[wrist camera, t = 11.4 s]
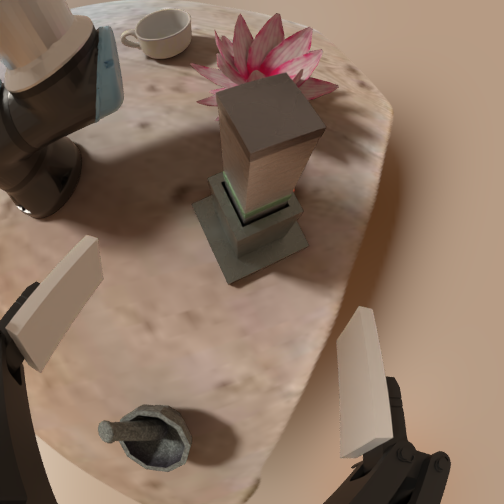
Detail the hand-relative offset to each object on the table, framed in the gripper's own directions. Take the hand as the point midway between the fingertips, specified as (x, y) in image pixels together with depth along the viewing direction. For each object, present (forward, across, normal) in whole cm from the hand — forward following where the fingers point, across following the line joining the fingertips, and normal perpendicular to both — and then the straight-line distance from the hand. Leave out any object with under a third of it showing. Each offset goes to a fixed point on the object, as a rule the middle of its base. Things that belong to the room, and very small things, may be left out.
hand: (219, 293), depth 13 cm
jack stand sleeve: (+25, 0, -11) cm, 27 cm away
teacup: (+48, -27, +12) cm, 56 cm away
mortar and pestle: (+4, -6, -33) cm, 34 cm away
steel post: (+20, 0, -6) cm, 21 cm away
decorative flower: (+41, -4, +4) cm, 41 cm away
